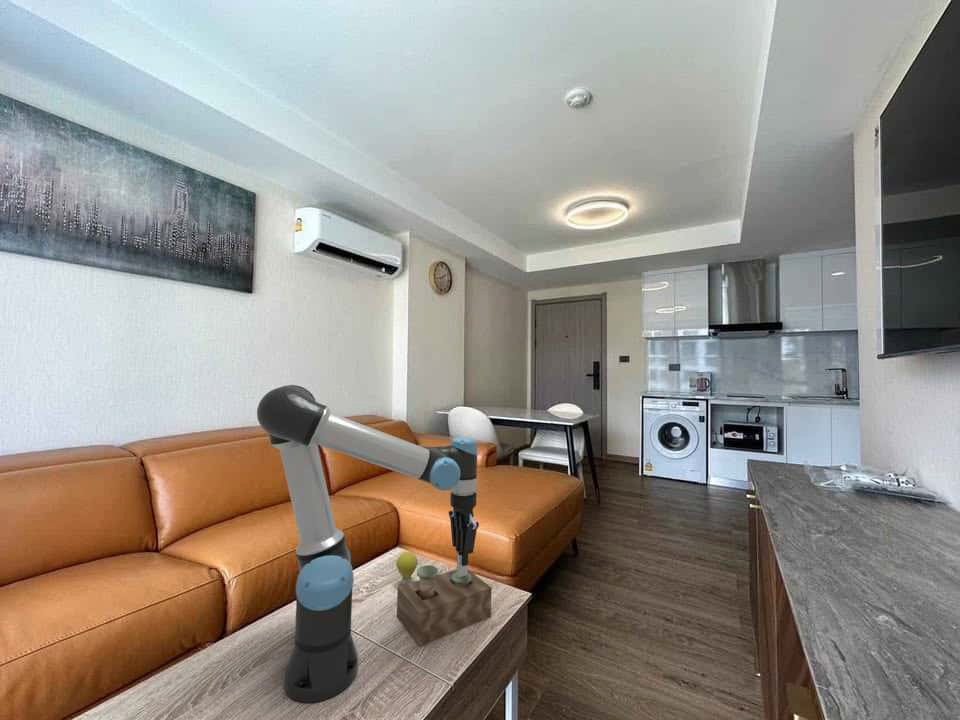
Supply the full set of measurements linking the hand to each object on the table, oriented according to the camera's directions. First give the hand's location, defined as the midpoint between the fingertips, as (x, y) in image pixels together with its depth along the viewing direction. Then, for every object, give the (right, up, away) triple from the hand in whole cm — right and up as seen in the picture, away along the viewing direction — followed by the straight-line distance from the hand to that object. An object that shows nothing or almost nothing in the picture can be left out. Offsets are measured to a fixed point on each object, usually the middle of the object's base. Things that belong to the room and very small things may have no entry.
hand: (462, 575), depth 112 cm
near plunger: (-9, -4, -6) cm, 12 cm away
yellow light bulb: (-18, -10, +13) cm, 24 cm away
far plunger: (0, -9, 0) cm, 9 cm away
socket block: (-5, -10, -4) cm, 11 cm away
